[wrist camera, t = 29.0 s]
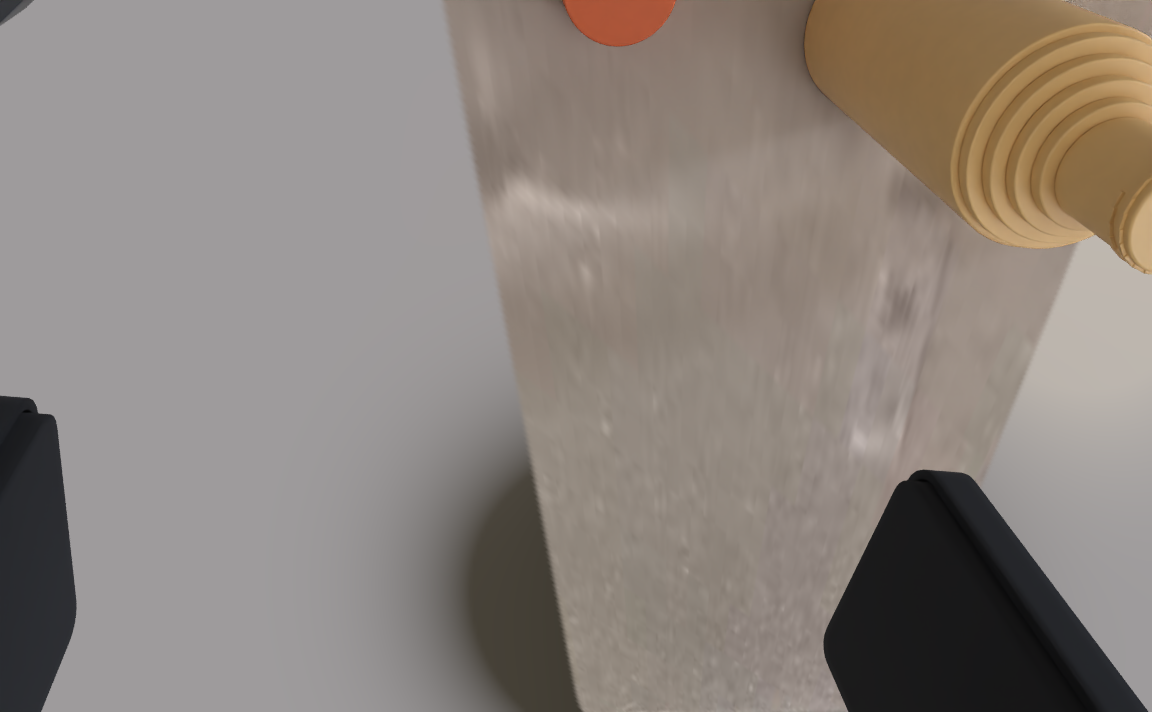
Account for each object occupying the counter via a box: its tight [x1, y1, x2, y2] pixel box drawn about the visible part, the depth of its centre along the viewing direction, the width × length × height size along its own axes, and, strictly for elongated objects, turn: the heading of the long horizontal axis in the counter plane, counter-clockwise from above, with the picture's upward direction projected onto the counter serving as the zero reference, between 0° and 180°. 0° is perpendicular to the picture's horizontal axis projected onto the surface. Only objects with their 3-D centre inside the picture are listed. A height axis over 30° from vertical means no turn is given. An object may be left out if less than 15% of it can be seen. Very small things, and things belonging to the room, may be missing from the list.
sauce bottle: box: [804, 0, 1152, 274], centre depth 29 cm, size 6×6×18 cm
